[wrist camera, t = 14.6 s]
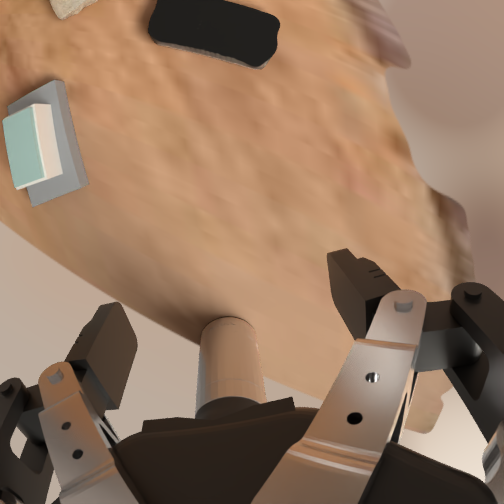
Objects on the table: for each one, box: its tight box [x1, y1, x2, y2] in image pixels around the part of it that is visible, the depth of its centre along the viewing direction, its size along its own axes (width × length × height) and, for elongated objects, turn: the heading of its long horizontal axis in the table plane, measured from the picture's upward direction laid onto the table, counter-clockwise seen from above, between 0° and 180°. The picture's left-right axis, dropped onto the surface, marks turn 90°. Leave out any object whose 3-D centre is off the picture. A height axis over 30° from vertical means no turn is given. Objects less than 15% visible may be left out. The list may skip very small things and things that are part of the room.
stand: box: [7, 80, 89, 207], centre depth 37 cm, size 16×9×3 cm, turn 13°
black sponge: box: [148, 0, 280, 70], centre depth 34 cm, size 16×8×4 cm, turn 71°
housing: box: [2, 104, 63, 190], centre depth 33 cm, size 6×10×5 cm, turn 8°
